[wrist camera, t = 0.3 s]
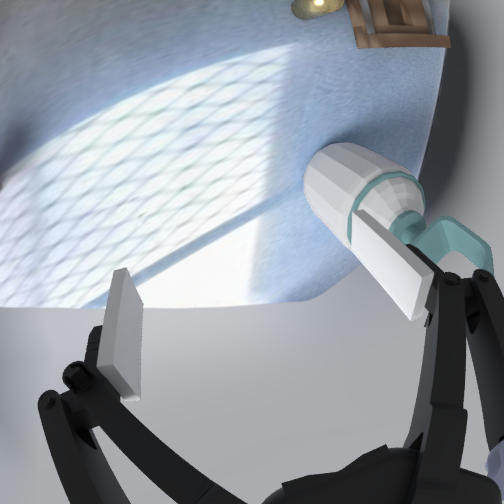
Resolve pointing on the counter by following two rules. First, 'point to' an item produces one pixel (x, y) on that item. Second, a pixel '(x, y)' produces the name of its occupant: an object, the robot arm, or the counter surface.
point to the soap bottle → (383, 203)
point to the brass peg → (314, 8)
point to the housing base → (394, 24)
